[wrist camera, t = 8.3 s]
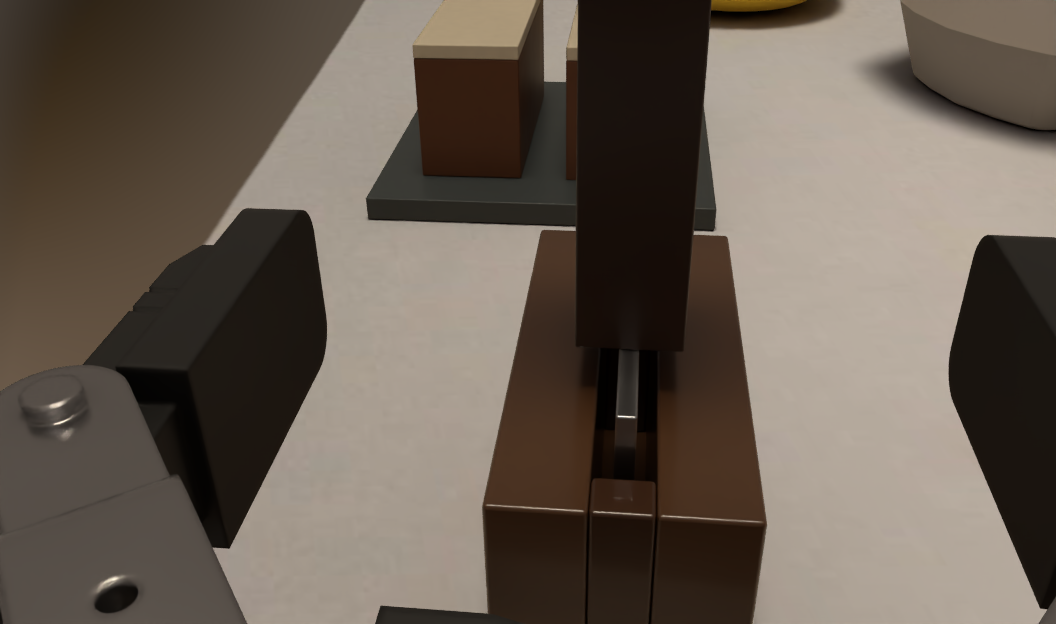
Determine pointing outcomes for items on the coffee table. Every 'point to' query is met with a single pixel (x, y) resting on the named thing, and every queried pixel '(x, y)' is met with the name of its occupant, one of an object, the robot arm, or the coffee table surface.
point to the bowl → (988, 55)
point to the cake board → (505, 181)
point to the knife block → (660, 466)
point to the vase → (752, 4)
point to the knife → (636, 184)
